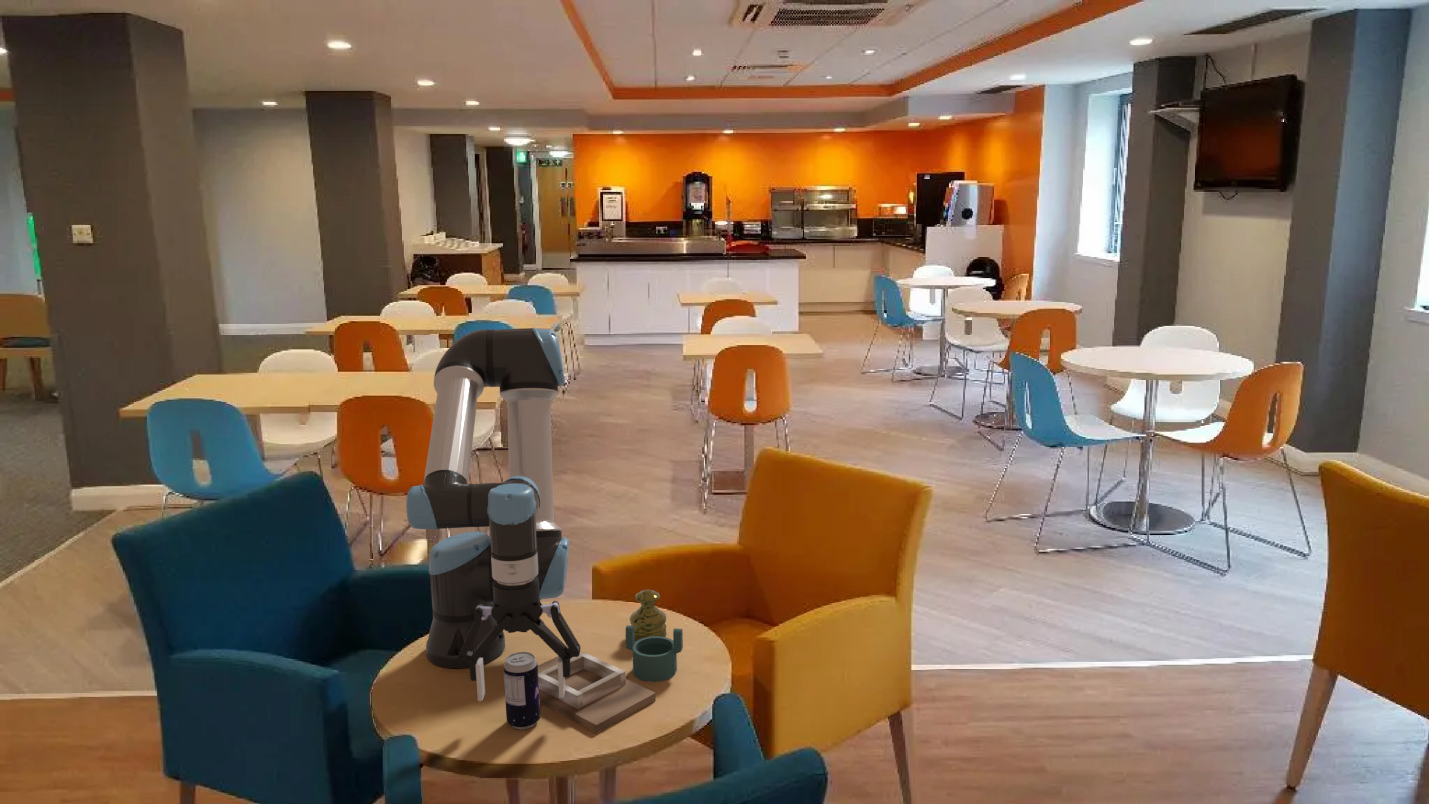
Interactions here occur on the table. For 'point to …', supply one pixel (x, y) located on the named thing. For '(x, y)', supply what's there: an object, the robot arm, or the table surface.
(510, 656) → the beverage can
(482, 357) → the robot arm
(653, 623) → the brass calibration weight
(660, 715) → the table surface
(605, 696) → the can holder
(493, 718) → the table surface
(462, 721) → the table surface
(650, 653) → the teal cauldron pot
